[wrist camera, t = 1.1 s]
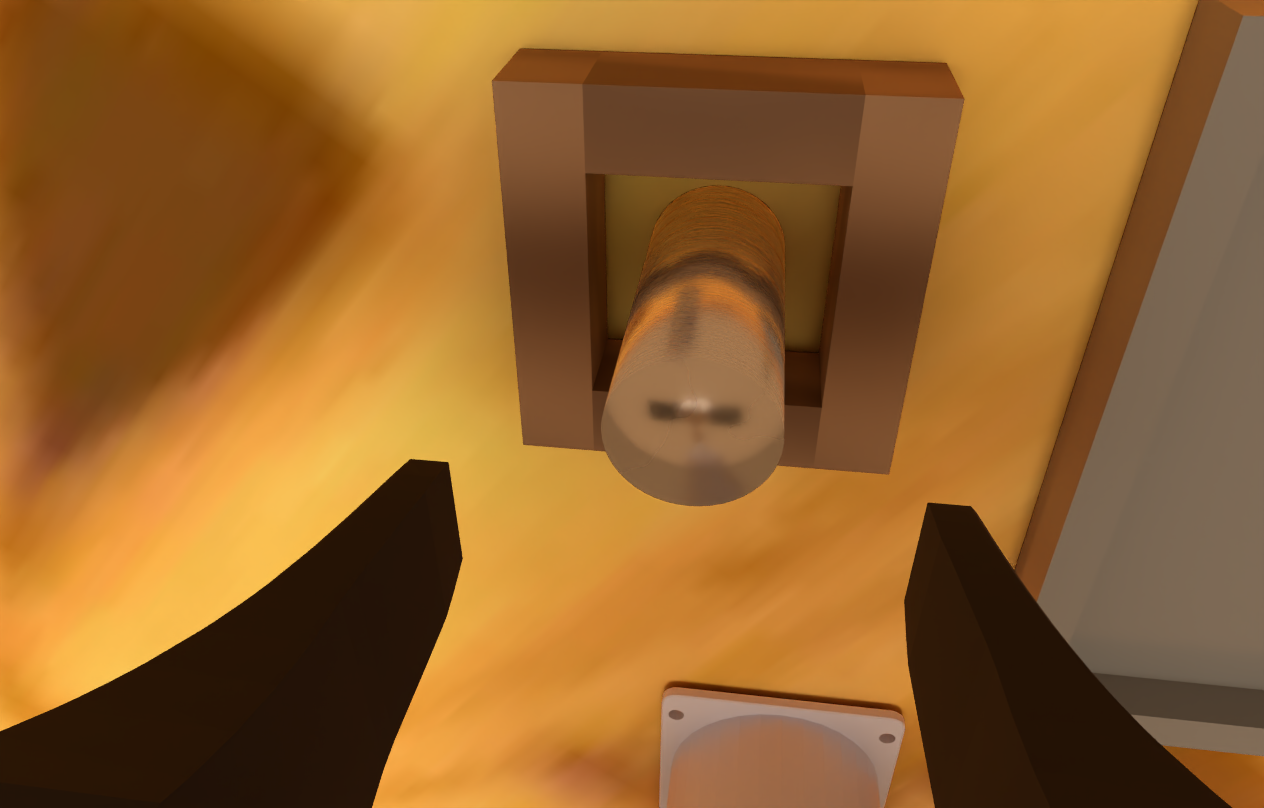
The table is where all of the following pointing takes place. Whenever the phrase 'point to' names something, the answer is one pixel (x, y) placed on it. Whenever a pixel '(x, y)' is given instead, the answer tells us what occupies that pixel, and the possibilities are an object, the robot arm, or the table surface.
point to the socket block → (725, 150)
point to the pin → (703, 354)
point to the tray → (1174, 422)
